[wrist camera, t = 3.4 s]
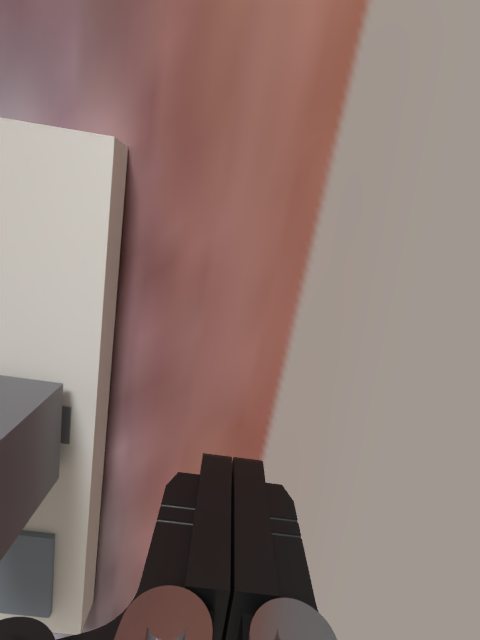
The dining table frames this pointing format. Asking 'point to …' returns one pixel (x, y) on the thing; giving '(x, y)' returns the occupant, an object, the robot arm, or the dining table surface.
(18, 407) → the slider
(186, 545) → the robot arm
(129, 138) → the dining table surface
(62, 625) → the switch panel
